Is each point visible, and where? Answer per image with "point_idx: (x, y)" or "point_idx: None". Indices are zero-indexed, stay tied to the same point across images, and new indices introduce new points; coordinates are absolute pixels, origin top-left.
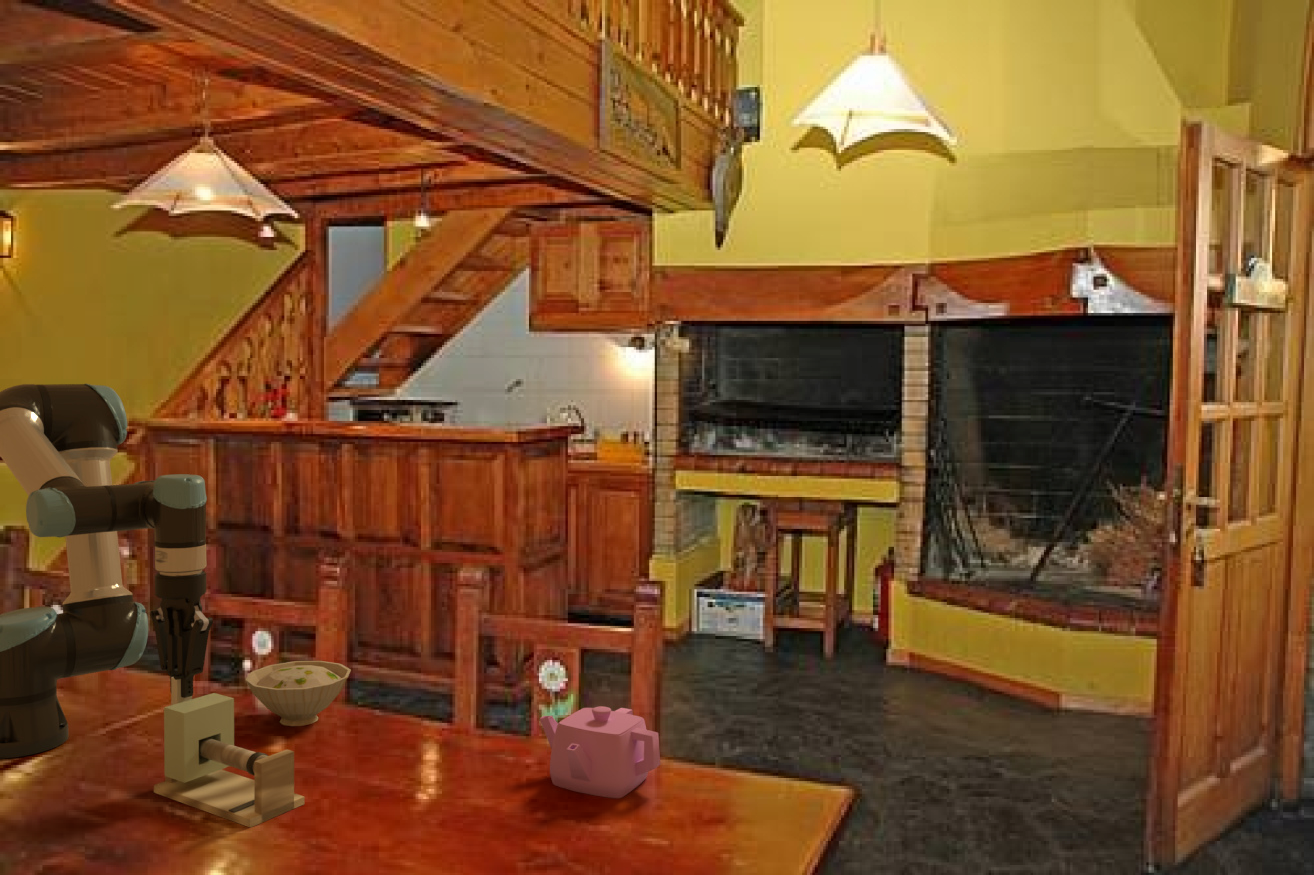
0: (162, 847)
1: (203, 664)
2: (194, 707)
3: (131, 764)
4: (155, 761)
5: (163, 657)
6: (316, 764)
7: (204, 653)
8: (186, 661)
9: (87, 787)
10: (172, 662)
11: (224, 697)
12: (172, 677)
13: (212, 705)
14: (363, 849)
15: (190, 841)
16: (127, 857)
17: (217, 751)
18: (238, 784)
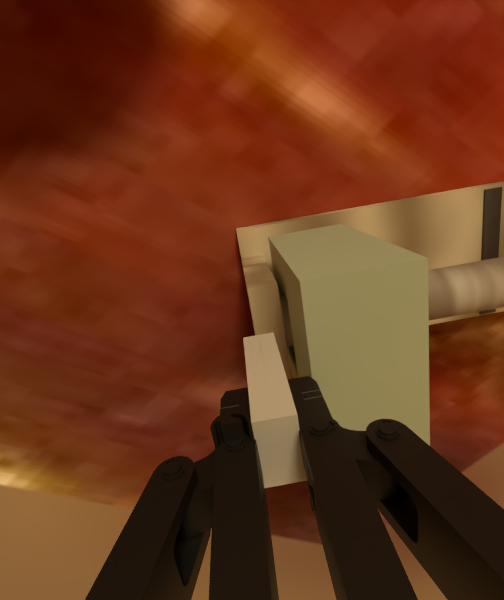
0: (467, 417)
1: (435, 452)
2: (403, 403)
3: (72, 322)
4: (86, 280)
5: (193, 585)
6: (384, 2)
7: (501, 514)
8: (413, 554)
9: (145, 416)
10: (272, 550)
11: (388, 280)
12: (270, 485)
13: (427, 349)
14: None
15: (486, 384)
16: (454, 458)
17: (433, 319)
18: (386, 239)
